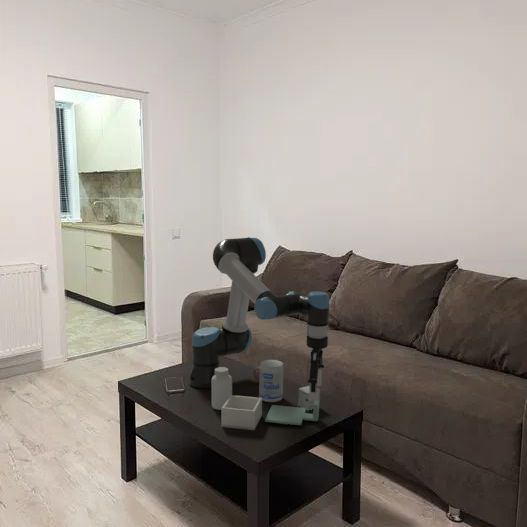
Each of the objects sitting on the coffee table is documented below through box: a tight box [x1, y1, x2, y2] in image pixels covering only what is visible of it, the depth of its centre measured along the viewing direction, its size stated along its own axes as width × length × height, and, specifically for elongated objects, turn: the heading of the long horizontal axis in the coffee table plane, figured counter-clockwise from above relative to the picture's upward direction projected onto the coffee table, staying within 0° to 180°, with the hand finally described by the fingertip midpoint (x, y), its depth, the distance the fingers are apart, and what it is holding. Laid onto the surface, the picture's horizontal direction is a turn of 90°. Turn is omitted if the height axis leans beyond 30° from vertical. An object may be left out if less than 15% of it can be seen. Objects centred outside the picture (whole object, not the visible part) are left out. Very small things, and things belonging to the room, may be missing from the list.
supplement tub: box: [258, 359, 284, 403], centre depth 208 cm, size 10×10×15 cm
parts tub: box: [220, 394, 263, 431], centre depth 187 cm, size 12×12×7 cm
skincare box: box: [297, 385, 321, 412], centre depth 200 cm, size 6×6×7 cm
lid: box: [264, 401, 320, 426], centre depth 189 cm, size 13×18×7 cm
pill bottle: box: [211, 366, 233, 411], centre depth 200 cm, size 8×8×15 cm
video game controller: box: [252, 365, 260, 382], centre depth 229 cm, size 10×5×7 cm, turn 164°
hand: (315, 392), depth 187 cm, fingers open, 13 cm apart
